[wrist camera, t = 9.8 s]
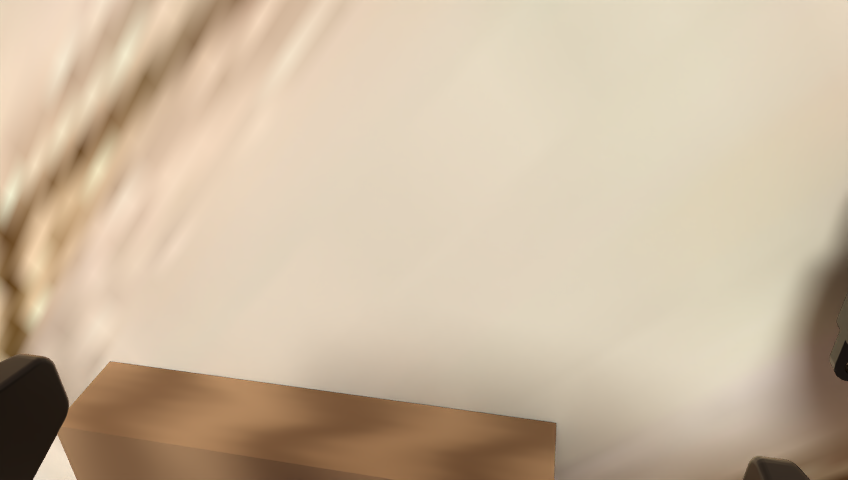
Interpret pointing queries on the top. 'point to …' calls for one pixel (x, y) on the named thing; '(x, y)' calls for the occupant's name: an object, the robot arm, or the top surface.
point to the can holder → (285, 434)
